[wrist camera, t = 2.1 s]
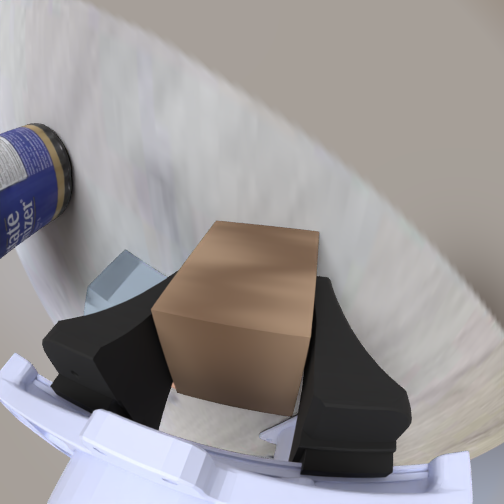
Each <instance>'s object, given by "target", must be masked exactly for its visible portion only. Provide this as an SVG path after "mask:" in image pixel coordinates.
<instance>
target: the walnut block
mask: <svg viewBox="0 0 504 504" xmlns="http://www.w3.org/2000/svg"><path fill="white" fill-rule="evenodd" d="M318 243H319V232H318V231H309V230H301V229H292V228H283V227H274V226H264V225H255V224H245V223H235V222H225V221H216V222H215V223H214V224H213V225H212V227H211V228H210V229H209V231H208V232H207V233H206V235H205V236H204V237H203V239H202V240H201V241H200V243H199V244H198V245H197V247H196V248H195V249H194V251H193V252H192V253H191V255H190V256H189V257H188V259H187V260H186V261H185V263H184V264H183V265H182V267H181V268H180V269H179V271H178V272H177V274H176V275H175V276H174V278H173V279H172V280H171V282H170V283H169V285H168V286H167V287H166V289H165V290H164V292H163V293H162V294H161V296H160V297H159V299H158V300H157V301H156V303H155V304H154V306H153V307H152V308H151V312H152V315H153V319H154V322H155V326H156V329H157V333H158V336H159V339H160V343H161V346H162V349H163V352H164V356H165V359H166V362H167V365H168V368H169V371H170V374H171V377H172V379H173V382H174V385H175V388H176V391H177V393H180V394H184V395H188V396H191V397H195V398H199V399H203V400H207V401H211V402H215V403H219V404H224V405H228V406H233V407H238V408H243V409H248V410H253V411H259V412H264V413H270V414H276V415H283V416H290V417H292V415H293V411H294V407H295V403H296V399H297V395H298V391H299V387H300V383H301V379H302V374H303V370H304V366H305V361H306V357H307V352H308V347H309V342H310V338H311V328H312V319H313V308H314V297H315V286H316V273H317V259H318Z"/></svg>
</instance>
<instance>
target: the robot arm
mask: <svg viewBox="0 0 504 504" xmlns="http://www.w3.org/2000/svg"><path fill="white" fill-rule="evenodd" d="M178 271H179V270H178ZM178 271H177V272H178ZM177 272H175V273H174V274H172V275H171V276H169V277H168V278H166V279H165V280H163V281H161V282H160V283H158V284H156V285H155V286H153V287H151V288H150V289H148V290H146V291H145V292H143V293H141V294H139V295H137V296H135V297H133V298H131V299H129V300H127V301H125V302H123V303H120V304H118V305H115V306H113V307H110V308H107V309H105V310H102V311H99V312H96V313H92V314H89V315H85V316H81V317H77V318H72V319H66V320H61V321H58V323H57V324H56V325H55V326H54V327H53V328H52V330H51V331H50V332H49V333H48V334H47V335H46V337H45V338H44V339H43V342H42V345H43V348H44V351H45V353H46V354H47V356H48V358H49V359H50V361H51V362H52V364H53V365H54V367H55V368H56V370H57V371H58V373H59V375H58V376H57V378H56V379H55V380H54V382H51V381H50V380H48V379H46V378H45V377H43V376H41V375H40V374H38V372H37V371H36V369H35V368H34V366H33V365H32V364H31V363H30V362H29V361H28V360H26V359H25V358H23V357H22V356H20V355H19V354H17V353H14V354H13V355H12V357H11V358H10V359H9V361H8V362H7V363H6V364H5V365H4V367H3V368H2V369H1V370H0V402H1V403H2V404H3V405H4V406H5V407H6V408H7V409H8V410H9V411H10V412H11V413H12V414H13V415H14V416H15V417H16V418H17V419H18V420H19V421H21V422H22V423H23V424H25V425H26V426H27V427H28V428H30V429H31V430H32V431H34V432H35V433H36V434H37V435H39V436H40V437H41V438H43V439H44V440H45V441H47V442H48V443H50V444H51V445H52V446H54V447H55V448H57V449H58V450H59V451H61V452H62V453H64V454H65V455H67V456H68V457H70V458H71V459H70V461H69V463H68V464H67V466H66V468H65V470H64V472H63V474H62V475H61V477H60V479H59V481H58V483H57V485H56V487H55V488H54V490H53V492H52V494H51V496H50V498H49V500H48V502H47V504H473V493H472V477H471V466H470V456H469V451H461V452H455V453H448V454H443V455H440V456H437V457H436V458H434V459H433V460H432V461H431V462H430V463H428V464H417V465H404V466H393V453H394V452H395V451H396V440H397V439H398V438H399V437H400V436H401V435H402V434H403V433H404V432H405V431H406V429H407V428H408V427H409V426H410V424H411V420H412V416H411V408H410V403H409V399H408V396H407V392H406V391H405V390H404V389H403V388H402V387H401V386H400V385H398V384H397V383H396V382H395V381H394V380H393V379H392V378H390V377H389V376H388V375H387V374H386V373H385V372H384V371H383V370H382V369H381V368H380V367H379V366H378V364H377V363H376V362H375V361H374V360H373V358H372V357H371V356H370V355H369V354H368V352H367V351H366V350H365V348H364V347H363V346H362V344H361V343H360V341H359V340H358V338H357V337H356V335H355V334H354V332H353V330H352V329H351V327H350V325H349V323H348V322H347V320H346V318H345V316H344V314H343V312H342V310H341V307H340V305H339V303H338V301H337V298H336V296H335V293H334V291H333V288H332V284H331V280H330V279H329V278H328V277H320V276H316V286H315V297H314V308H313V319H312V328H311V338H310V342H309V347H308V352H307V357H306V361H305V366H304V377H303V386H302V393H301V399H300V405H299V410H298V415H297V416H295V417H293V418H291V419H289V420H287V421H285V422H283V423H281V424H279V425H277V426H275V427H273V428H270V429H268V430H266V431H264V432H262V433H260V434H259V438H260V439H262V440H265V441H268V442H270V443H273V444H276V450H275V454H274V459H268V458H262V457H256V456H251V455H246V454H241V453H236V452H232V451H227V450H223V449H219V448H215V447H211V446H207V445H203V444H200V443H196V442H193V441H189V440H186V439H183V438H179V437H176V436H173V435H170V434H167V433H164V432H161V431H158V430H159V426H160V422H161V418H162V414H163V411H164V408H165V405H166V401H167V398H168V395H169V392H170V389H171V386H172V383H173V379H172V377H171V374H170V371H169V368H168V365H167V362H166V359H165V356H164V352H163V349H162V346H161V343H160V339H159V336H158V333H157V329H156V326H155V322H154V319H153V315H152V312H151V308H152V307H153V306H154V304H155V303H156V301H157V300H158V299H159V297H160V296H161V294H162V293H163V292H164V290H165V289H166V287H167V286H168V285H169V283H170V282H171V280H172V279H173V278H174V276H175V275H176V274H177Z"/></svg>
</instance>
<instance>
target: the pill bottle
mask: <svg viewBox="0 0 504 504" xmlns="http://www.w3.org/2000/svg"><path fill="white" fill-rule="evenodd" d="M71 182H72V181H71V167H70V161H69V158H68V155H67V152H66V150H65V147H64V145H63V143H62V142H61V141H60V140H59V138H58V137H57V135H56V134H55V132H54V131H53V130H51V129H50V128H49V127H47V126H45V125H43V124H39V123H34V124H27V125H25V126H22V127H19V128H16V129H13V130H10V131H7V132H4V133H2V134H0V259H1V258H2V257H3V256H4V255H6V254H7V253H8V252H9V251H11V250H12V249H13V248H15V247H16V246H17V245H19V244H20V243H22V242H23V241H24V240H25V239H27V238H28V237H30V236H31V235H32V234H34V233H35V232H36V231H38V230H39V229H41V228H42V227H44V226H45V225H46V224H48V223H49V222H51V221H52V220H54V219H56V218H57V217H58V216H59V215H60V214H62V213H63V211H64V210H65V208H66V206H67V204H68V202H69V199H70V195H71V189H72V186H71Z"/></svg>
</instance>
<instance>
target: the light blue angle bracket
mask: <svg viewBox="0 0 504 504" xmlns="http://www.w3.org/2000/svg"><path fill="white" fill-rule="evenodd" d="M166 278H167V277H166V276H164V275H163V274H161V273H160V272H158V271H157V270H155V269H154V268H152V267H151V266H149V265H148V264H146V263H144V262H143V261H142V260H140V259H139V258H137V257H136V256H134V255H133V254H131V253H130V252H128V251H127V250H124V251H123V252H122V253H121V254H120V255H119V256H118V257H117V258H116V259H115V260H114V261H113V262H112V263H111V264H110V265H109V266H108V267H107V268H106V269H105V270H104V271H103V272H102V273H101V274H100V275H99V276H98V277H97V278H96V279H95V280H94V281H93V282H92V283H91V284H90V285H89V286H88V288H87V294H86V301H85V309H84V316H85V315H89V314H92V313H96V312H99V311H102V310H105V309H107V308H110V307H113V306H115V305H118V304H120V303H123V302H125V301H127V300H129V299H131V298H133V297H135V296H137V295H139V294H141V293H143V292H145V291H146V290H148V289H150V288H151V287H153V286H155V285H156V284H158V283H160V282H161V281H163V280H165V279H166ZM171 387H173V388H175V385H174V382H173V383H172V386H171ZM175 389H176V388H175Z"/></svg>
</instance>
